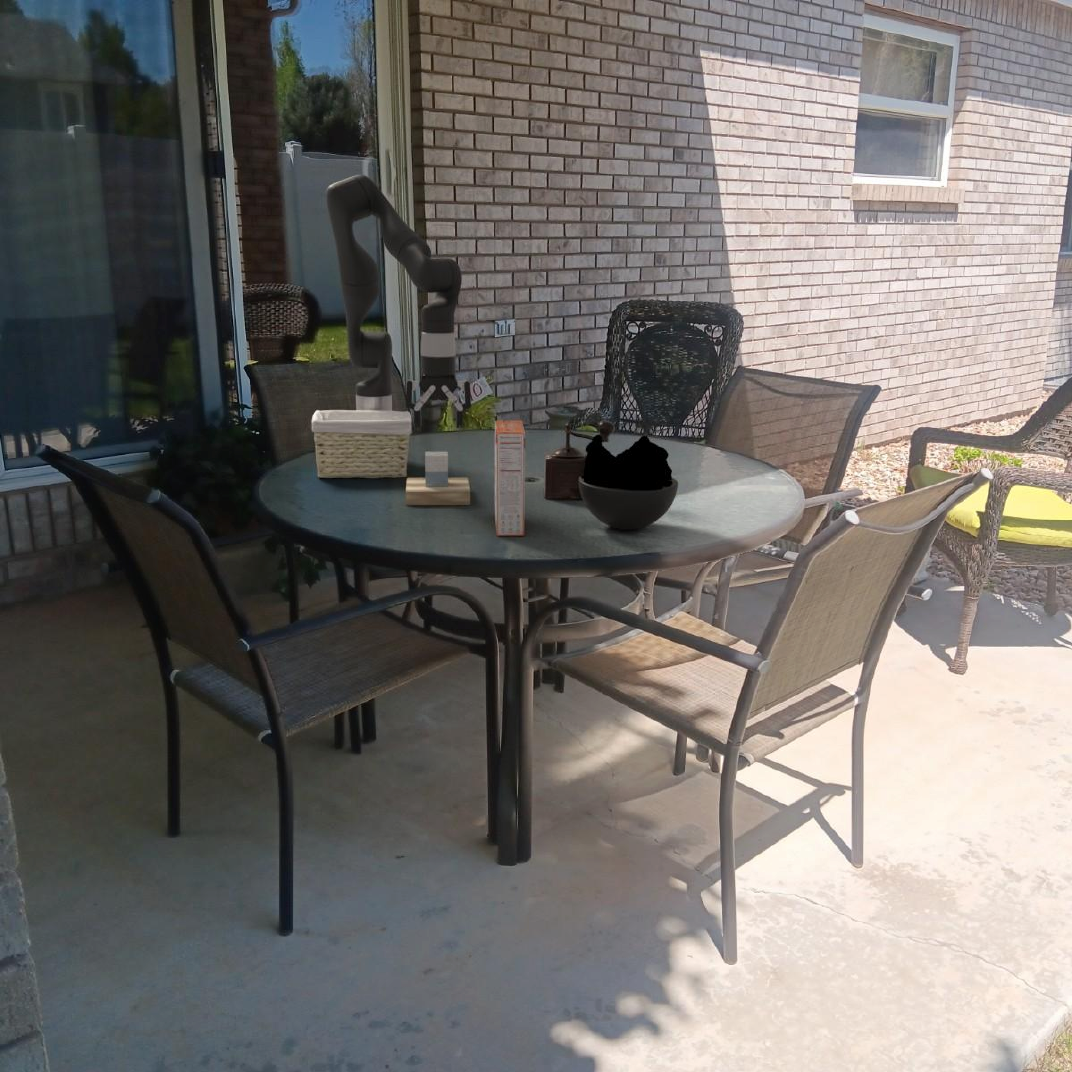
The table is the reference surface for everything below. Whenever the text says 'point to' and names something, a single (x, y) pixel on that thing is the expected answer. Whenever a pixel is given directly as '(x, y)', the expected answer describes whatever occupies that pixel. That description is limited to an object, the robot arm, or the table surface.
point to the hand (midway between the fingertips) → (438, 427)
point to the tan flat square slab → (438, 492)
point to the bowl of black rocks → (627, 484)
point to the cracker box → (509, 478)
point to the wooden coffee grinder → (568, 465)
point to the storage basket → (361, 443)
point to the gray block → (436, 469)
